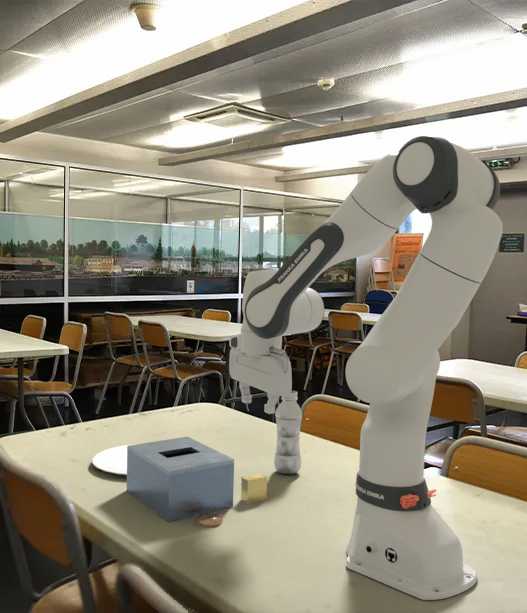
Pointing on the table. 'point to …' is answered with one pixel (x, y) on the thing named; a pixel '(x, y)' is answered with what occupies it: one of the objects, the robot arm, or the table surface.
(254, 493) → the brushed brass bar
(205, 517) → the copper token
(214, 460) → the coin box
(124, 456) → the plate
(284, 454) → the plastic bottle
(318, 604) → the table surface
